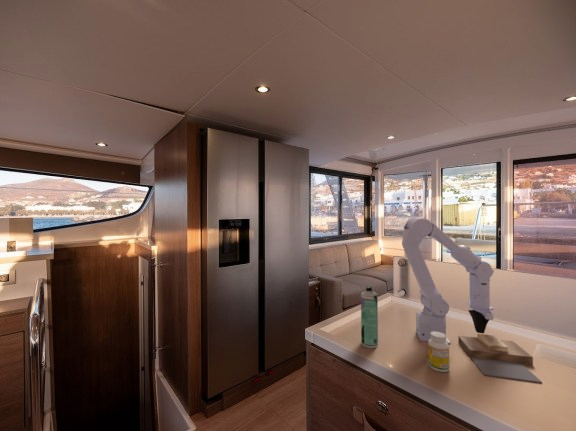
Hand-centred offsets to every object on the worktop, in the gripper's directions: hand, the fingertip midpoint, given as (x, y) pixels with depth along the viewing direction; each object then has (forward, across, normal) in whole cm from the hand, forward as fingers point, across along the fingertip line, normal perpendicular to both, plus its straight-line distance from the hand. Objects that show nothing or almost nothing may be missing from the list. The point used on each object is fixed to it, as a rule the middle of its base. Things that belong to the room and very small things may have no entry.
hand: (479, 332), depth 91 cm
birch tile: (0, -8, 0) cm, 8 cm away
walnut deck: (+3, -9, 0) cm, 9 cm away
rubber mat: (+3, -19, +2) cm, 19 cm away
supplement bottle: (+3, -22, +19) cm, 29 cm away
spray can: (+3, -13, +38) cm, 40 cm away
